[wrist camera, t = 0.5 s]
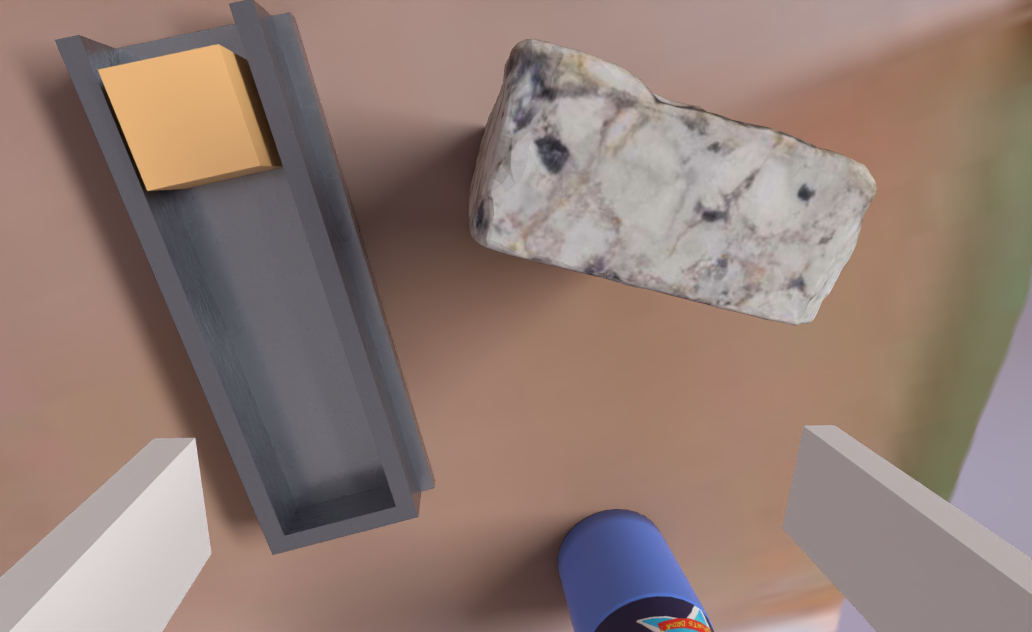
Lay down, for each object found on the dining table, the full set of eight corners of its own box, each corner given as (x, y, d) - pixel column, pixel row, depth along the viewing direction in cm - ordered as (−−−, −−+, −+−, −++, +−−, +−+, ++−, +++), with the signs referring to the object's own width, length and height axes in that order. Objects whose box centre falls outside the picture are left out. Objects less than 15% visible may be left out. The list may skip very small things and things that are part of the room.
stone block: (459, 220, 35) (465, 275, 16) (477, 110, 33) (507, 22, 14) (646, 254, 37) (853, 339, 18) (671, 152, 35) (929, 124, 16)
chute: (88, 60, 30) (34, 44, 26) (294, 17, 31) (271, -6, 27) (277, 521, 39) (257, 559, 35) (434, 480, 40) (432, 513, 36)
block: (143, 83, 30) (97, 69, 26) (248, 60, 30) (218, 44, 26) (185, 189, 31) (147, 190, 28) (283, 166, 32) (260, 165, 28)
